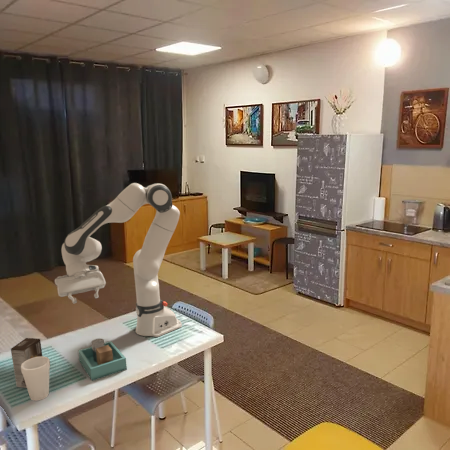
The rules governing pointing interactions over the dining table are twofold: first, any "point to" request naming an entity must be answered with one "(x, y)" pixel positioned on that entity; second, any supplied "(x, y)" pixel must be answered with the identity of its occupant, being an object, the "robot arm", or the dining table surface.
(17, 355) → the coffee box
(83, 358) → the tote
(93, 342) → the grey cylinder
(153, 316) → the robot arm
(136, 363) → the dining table surface
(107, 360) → the walnut block
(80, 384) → the dining table surface
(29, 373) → the foam cup
